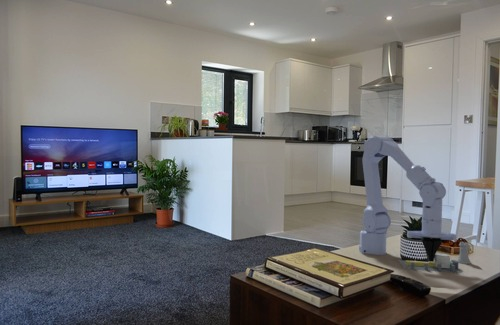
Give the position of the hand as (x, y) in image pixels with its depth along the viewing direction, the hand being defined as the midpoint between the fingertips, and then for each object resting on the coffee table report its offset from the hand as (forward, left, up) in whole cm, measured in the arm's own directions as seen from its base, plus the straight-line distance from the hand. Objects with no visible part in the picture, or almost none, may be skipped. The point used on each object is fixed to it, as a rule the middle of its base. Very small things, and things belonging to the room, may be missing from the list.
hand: (430, 260), depth 121 cm
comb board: (-1, 0, -3) cm, 3 cm away
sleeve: (+3, 0, -2) cm, 4 cm away
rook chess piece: (+13, +8, -3) cm, 16 cm away
